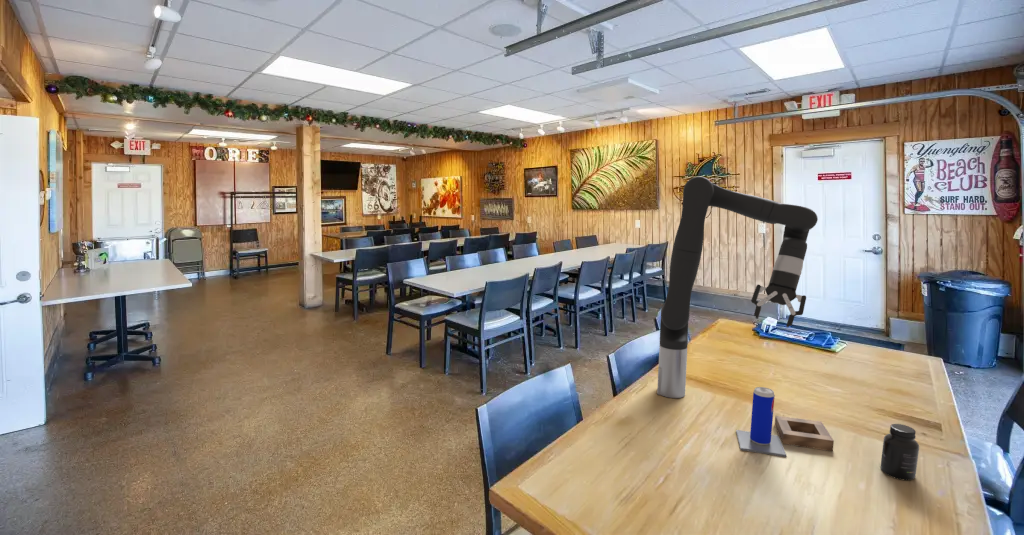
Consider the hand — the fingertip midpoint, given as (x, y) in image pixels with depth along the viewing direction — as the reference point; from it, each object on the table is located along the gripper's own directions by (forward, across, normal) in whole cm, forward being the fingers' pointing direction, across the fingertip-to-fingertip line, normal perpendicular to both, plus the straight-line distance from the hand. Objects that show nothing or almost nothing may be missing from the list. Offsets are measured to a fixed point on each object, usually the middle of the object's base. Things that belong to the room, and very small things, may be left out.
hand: (771, 322), depth 146 cm
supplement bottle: (+29, +36, -11) cm, 47 cm away
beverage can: (+34, +6, -12) cm, 36 cm away
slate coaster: (+34, +6, -12) cm, 37 cm away
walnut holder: (+30, +15, -3) cm, 33 cm away
